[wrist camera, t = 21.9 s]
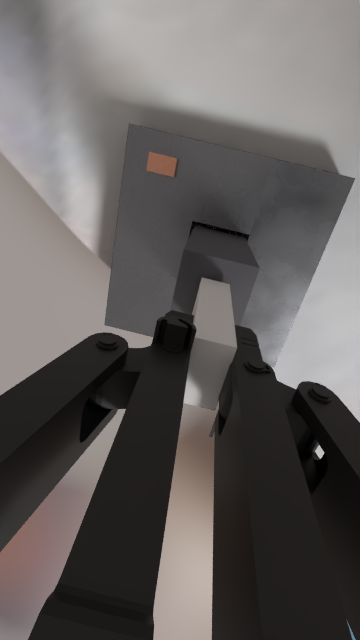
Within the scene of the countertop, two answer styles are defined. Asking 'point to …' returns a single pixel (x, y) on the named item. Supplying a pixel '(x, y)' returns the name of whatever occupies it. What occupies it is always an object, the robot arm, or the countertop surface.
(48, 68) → the countertop surface
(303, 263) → the socket plate
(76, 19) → the countertop surface
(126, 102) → the countertop surface
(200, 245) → the plug
